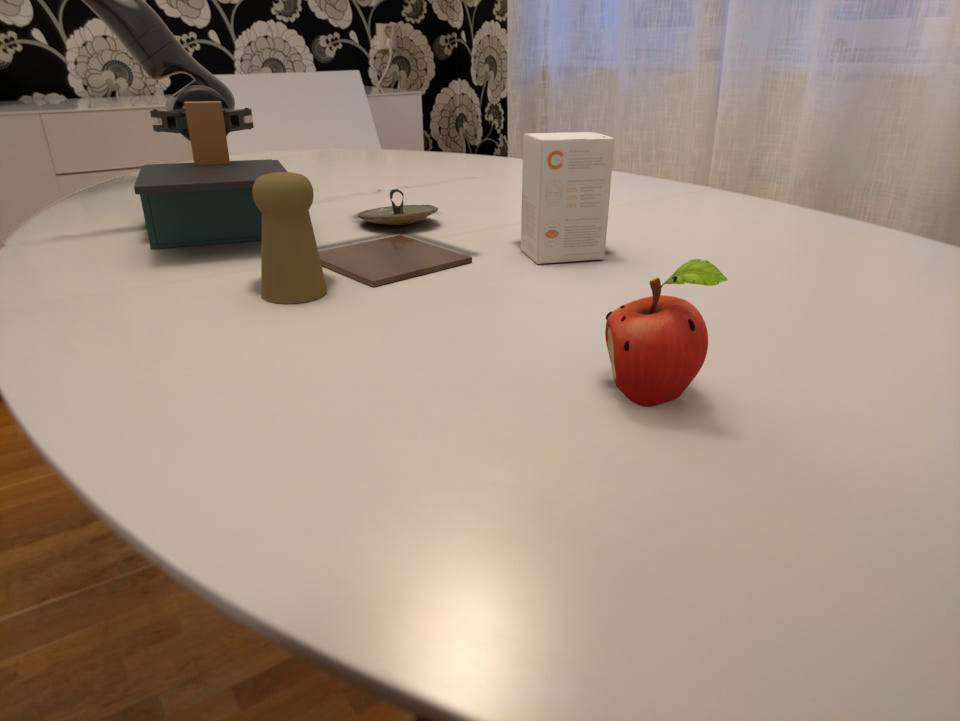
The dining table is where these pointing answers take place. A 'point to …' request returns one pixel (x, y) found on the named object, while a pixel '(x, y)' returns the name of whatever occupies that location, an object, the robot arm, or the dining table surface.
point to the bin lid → (204, 159)
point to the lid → (397, 213)
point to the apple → (660, 339)
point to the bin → (201, 217)
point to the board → (389, 259)
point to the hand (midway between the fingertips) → (204, 126)
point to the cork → (288, 239)
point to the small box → (565, 196)
